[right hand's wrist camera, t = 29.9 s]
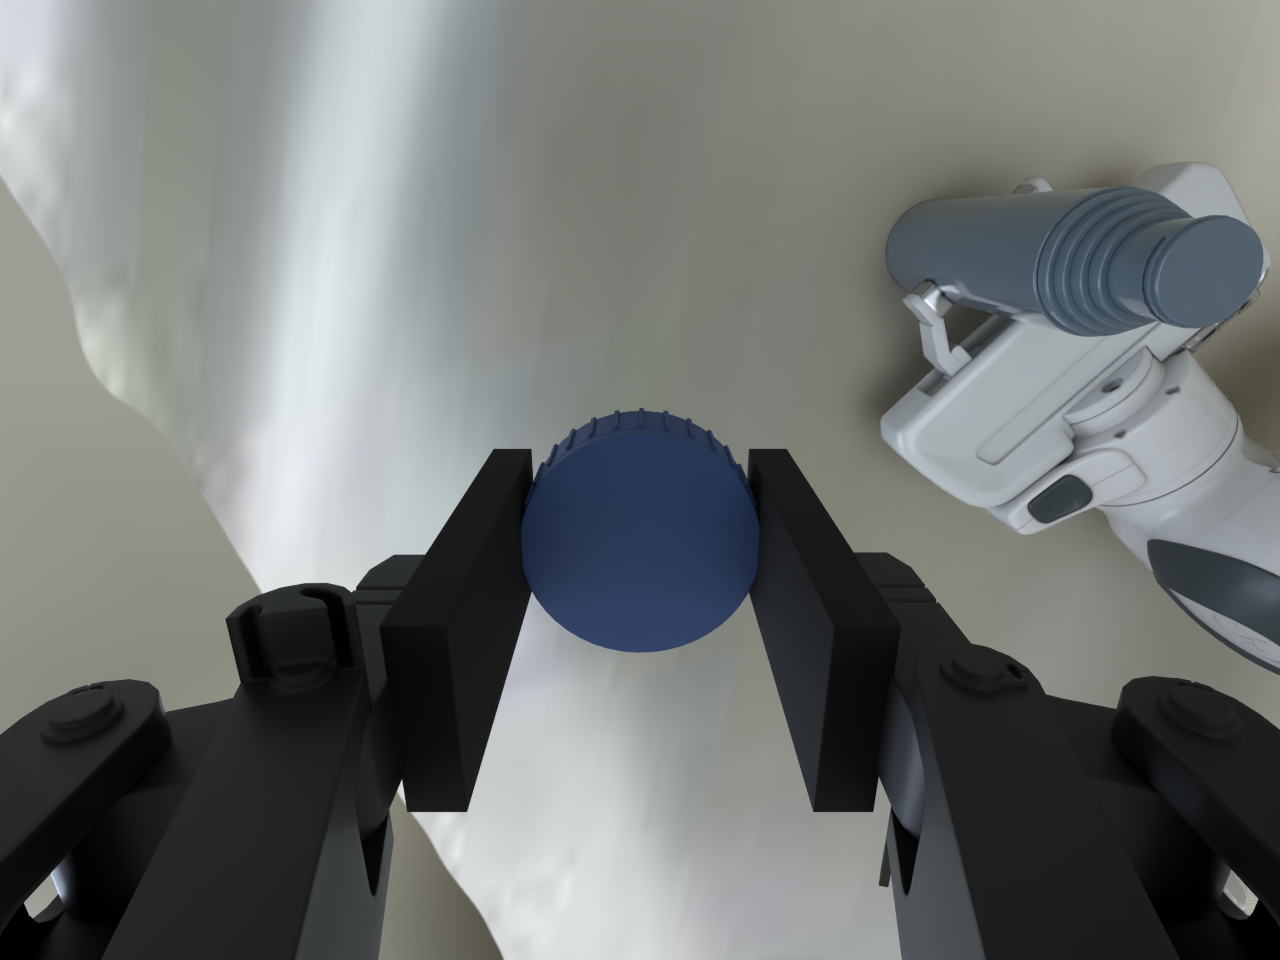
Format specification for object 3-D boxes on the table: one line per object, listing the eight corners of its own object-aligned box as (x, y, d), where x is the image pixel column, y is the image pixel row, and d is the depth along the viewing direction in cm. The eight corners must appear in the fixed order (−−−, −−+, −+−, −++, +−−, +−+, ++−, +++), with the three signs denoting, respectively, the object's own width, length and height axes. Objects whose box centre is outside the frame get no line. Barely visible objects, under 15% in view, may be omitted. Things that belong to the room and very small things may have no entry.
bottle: (867, 246, 42) (1086, 269, 22) (942, 178, 41) (1252, 134, 20) (920, 313, 44) (1172, 396, 23) (994, 250, 42) (1334, 277, 22)
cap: (756, 602, 15) (768, 645, 13) (546, 620, 15) (535, 664, 14) (747, 396, 13) (760, 418, 12) (513, 418, 14) (496, 443, 12)
